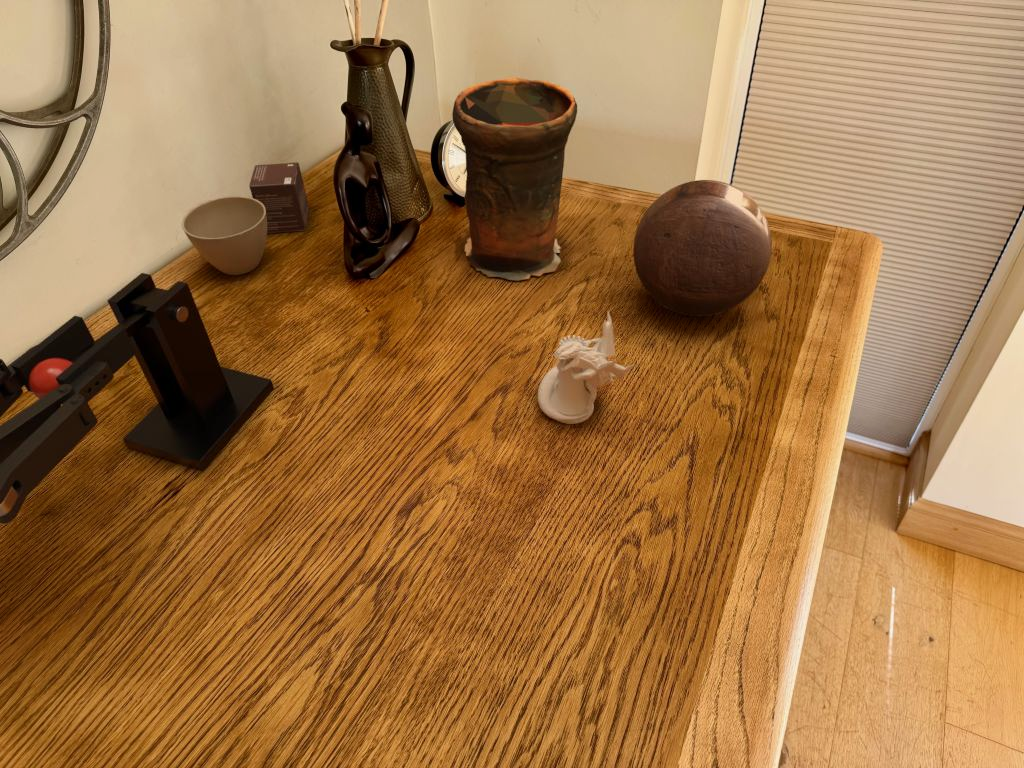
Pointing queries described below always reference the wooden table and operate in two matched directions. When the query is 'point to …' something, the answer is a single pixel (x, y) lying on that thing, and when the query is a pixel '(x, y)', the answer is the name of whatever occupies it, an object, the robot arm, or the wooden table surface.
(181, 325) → the lever base
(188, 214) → the flower pot
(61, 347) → the robot arm
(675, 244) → the wooden sphere
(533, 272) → the vessel
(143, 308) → the switch
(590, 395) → the figurine
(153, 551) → the wooden table surface
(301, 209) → the box
